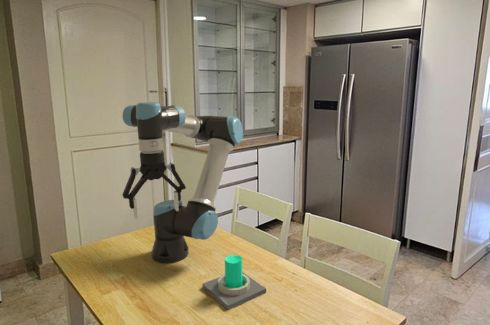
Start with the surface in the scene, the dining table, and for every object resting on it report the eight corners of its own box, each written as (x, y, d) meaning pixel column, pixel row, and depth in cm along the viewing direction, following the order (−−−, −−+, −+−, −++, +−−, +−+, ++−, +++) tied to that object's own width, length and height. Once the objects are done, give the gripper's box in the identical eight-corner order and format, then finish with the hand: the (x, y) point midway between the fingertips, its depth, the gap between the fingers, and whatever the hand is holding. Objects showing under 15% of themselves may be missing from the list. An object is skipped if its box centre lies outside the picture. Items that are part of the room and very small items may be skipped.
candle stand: (202, 287, 125) (202, 278, 125) (238, 273, 135) (238, 264, 134) (227, 309, 113) (227, 300, 112) (266, 292, 122) (266, 283, 121)
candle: (245, 284, 124) (245, 253, 122) (236, 292, 119) (236, 260, 117) (231, 279, 127) (231, 249, 125) (221, 287, 122) (221, 255, 120)
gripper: (111, 157, 104) (119, 224, 109) (192, 149, 115) (196, 210, 120) (109, 153, 111) (116, 216, 116) (185, 145, 122) (189, 203, 127)
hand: (156, 213), depth 118 cm, fingers open, 13 cm apart
